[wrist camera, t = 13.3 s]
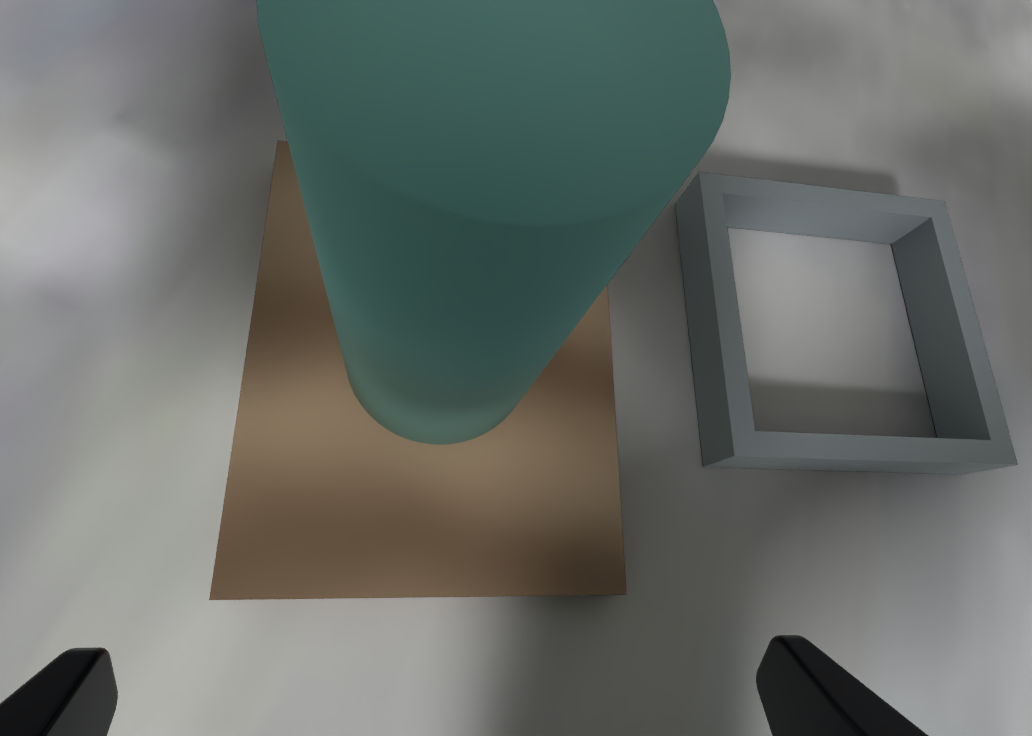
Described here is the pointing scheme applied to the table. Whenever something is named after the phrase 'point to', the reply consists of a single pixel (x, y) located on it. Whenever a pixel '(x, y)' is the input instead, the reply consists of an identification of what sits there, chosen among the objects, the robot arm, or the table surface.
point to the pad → (407, 463)
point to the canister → (482, 177)
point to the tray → (930, 305)
